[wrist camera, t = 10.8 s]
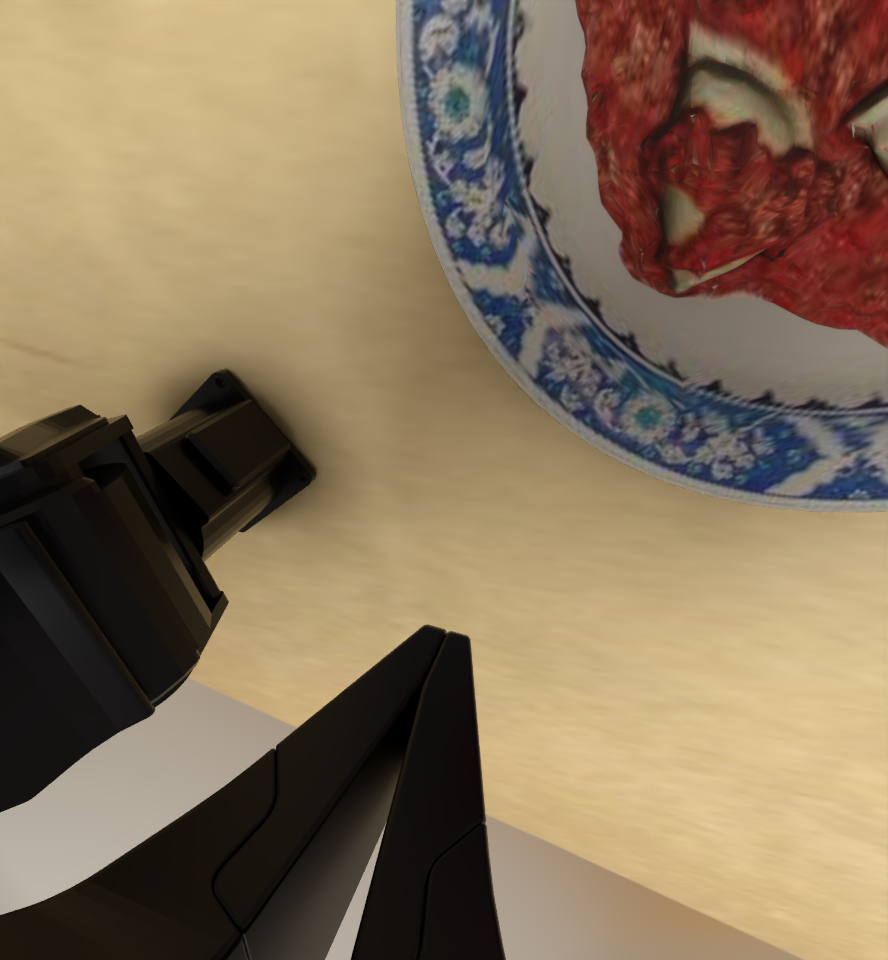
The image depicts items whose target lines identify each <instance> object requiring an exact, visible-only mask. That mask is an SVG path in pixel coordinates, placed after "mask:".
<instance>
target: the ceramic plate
mask: <svg viewBox="0 0 888 960" xmlns="http://www.w3.org/2000/svg"><path fill="white" fill-rule="evenodd" d="M396 26H397V69H398V80H399V92H400V103H401V114H402V122H403V128H404V134H405V140H406V146H407V152H408V157H409V163H410V169H411V173H412V177H413V181H414V184H415V188H416V192H417V196H418V200H419V204H420V208H421V212H422V215H423V218H424V221H425V224H426V227H427V230H428V232H429V235H430V238H431V241H432V244H433V247H434V250H435V253H436V255H437V257H438V260H439V262H440V264H441V266H442V269H443V271H444V273H445V275H446V277H447V280H448V282H449V284H450V286H451V289H452V291H453V293H454V294H455V296H456V298H457V300H458V301H459V303H460V305H461V307H462V309H463V310H464V312H465V314H466V316H467V318H468V319H469V321H470V323H471V325H472V326H473V328H474V329H475V330H476V332H477V333H478V335H479V336H480V338H481V339H482V341H483V342H484V344H485V345H486V346H487V348H488V349H489V351H490V352H491V354H492V355H493V356H494V357H495V359H496V360H497V361H498V362H499V363H500V365H501V366H502V367H503V368H504V369H505V371H506V372H507V373H508V374H509V375H510V377H511V378H512V379H513V380H514V381H515V383H516V384H517V385H518V386H519V387H521V388H522V389H523V390H524V391H525V392H526V393H527V394H528V395H529V396H530V397H531V398H532V399H533V400H534V401H535V402H536V403H537V404H538V405H539V406H540V407H541V408H542V409H543V410H544V411H546V412H547V413H548V414H549V415H551V416H552V417H553V418H554V419H556V420H557V421H558V422H559V423H560V424H562V425H563V426H564V427H565V428H567V429H568V430H569V431H571V432H572V433H574V434H575V435H577V436H578V437H580V438H581V439H583V440H584V441H586V442H587V443H589V444H590V445H592V446H593V447H595V448H596V449H598V450H599V451H601V452H603V453H605V454H607V455H609V456H611V457H612V458H614V459H616V460H618V461H620V462H622V463H623V464H625V465H627V466H629V467H631V468H634V469H636V470H638V471H641V472H643V473H645V474H648V475H650V476H652V477H655V478H657V479H659V480H662V481H664V482H667V483H670V484H673V485H676V486H679V487H682V488H685V489H688V490H691V491H694V492H697V493H701V494H705V495H709V496H713V497H718V498H722V499H726V500H730V501H734V502H739V503H746V504H752V505H758V506H765V507H771V508H778V509H790V510H802V511H815V512H880V511H888V0H397V1H396Z"/></svg>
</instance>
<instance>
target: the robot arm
mask: <svg viewBox="0 0 888 960" xmlns="http://www.w3.org/2000/svg"><path fill="white" fill-rule="evenodd" d="M221 378H222V379H223V380H224V382H225V384H223V382H222V381H221ZM131 429H133V426H132V424H131V423H130V421H129V419H128V417H127V415H122V416H118V417H113V418H109V419H106V417H100V415H96V414H94V413H92V412H91V411H89V410H88V409H86V408H85V407H83V406H81V405H78V406H74V407H70V408H67V409H65V410H62V411H59V412H57V413H54V414H52V415H49V416H47V417H44V418H42V419H39V420H37V421H34V422H32V423H29V424H27V425H25V426H23V427H20V428H18V429H16V430H14V431H12V432H10V433H8V434H7V435H5V436H3V437H1V438H0V812H2V811H5V810H7V809H10V808H12V807H15V806H17V805H20V804H22V803H25V802H27V801H29V800H30V799H32V798H33V797H34V796H36V795H37V794H38V793H40V791H42V790H43V789H44V788H46V787H47V786H48V785H49V784H50V783H52V782H53V781H54V780H55V779H56V778H57V777H59V776H60V775H61V774H62V773H64V772H65V771H66V770H67V769H68V768H70V767H71V766H72V765H73V764H74V763H75V762H77V761H78V760H80V758H82V757H83V756H85V755H86V754H87V753H89V752H90V751H91V750H92V749H94V748H96V747H97V746H99V745H100V744H101V743H103V742H105V741H106V740H108V739H109V738H111V737H112V736H114V735H115V734H117V733H119V732H120V731H122V730H124V729H126V728H128V727H130V726H132V725H134V724H136V723H138V722H140V721H142V720H144V719H146V718H148V717H150V716H151V715H152V714H153V713H154V711H155V707H156V706H158V705H159V704H160V703H162V702H163V701H165V700H166V699H167V698H168V697H169V696H171V695H172V694H173V693H174V692H175V691H176V690H177V689H178V688H179V687H180V686H181V685H182V684H183V683H184V681H185V680H186V679H187V678H188V676H189V675H190V673H191V672H192V670H193V668H194V667H195V666H196V665H197V663H198V661H199V659H200V655H201V653H202V651H203V650H204V648H205V646H206V644H207V642H208V640H209V638H210V637H211V635H212V633H213V631H214V629H215V627H216V625H217V624H218V622H219V620H220V618H221V616H222V614H223V612H224V610H225V609H226V607H227V605H228V603H229V601H228V600H227V598H226V596H225V594H224V592H223V591H220V590H219V588H218V586H217V585H216V583H215V581H214V579H213V577H212V575H211V574H210V572H209V570H208V568H207V566H206V565H205V563H204V561H205V560H207V559H208V558H209V557H210V556H211V555H212V554H213V553H215V552H216V551H217V550H218V549H219V548H220V547H221V546H222V545H224V544H225V543H226V542H227V541H228V540H229V539H230V538H231V537H233V536H234V535H235V534H236V533H237V532H238V531H239V532H245V531H247V530H248V529H249V528H251V527H252V526H253V525H255V524H256V523H258V522H259V521H260V520H262V519H263V518H264V517H266V516H267V515H268V514H270V513H271V512H272V511H274V510H275V509H277V508H278V507H279V506H281V505H282V504H283V503H285V502H286V501H287V500H289V499H290V498H292V497H293V496H294V495H296V494H297V493H298V492H300V491H301V490H302V489H304V488H305V487H307V486H308V485H309V484H310V483H311V482H312V481H313V480H314V479H315V477H316V473H315V470H314V469H313V467H312V466H311V465H310V464H309V463H308V462H307V460H306V459H305V458H304V457H303V456H302V455H301V454H300V452H299V451H298V450H297V449H296V448H295V447H294V445H293V444H292V443H291V442H290V441H289V440H288V438H287V437H286V436H285V435H284V434H283V433H282V432H281V430H280V429H279V428H278V427H277V426H276V425H275V423H274V422H273V421H272V420H271V419H270V418H269V416H268V415H267V414H266V413H265V412H264V411H263V410H262V408H261V407H260V406H259V405H258V404H257V403H256V401H255V400H254V399H253V398H252V397H251V396H250V395H249V393H248V392H247V391H246V390H245V389H244V388H243V386H242V385H241V384H240V383H239V382H238V381H237V379H236V378H235V377H234V376H233V375H232V374H231V373H230V372H229V371H227V370H219V371H217V372H215V373H213V374H212V375H211V376H210V377H209V378H208V379H207V380H206V381H205V383H204V384H203V385H202V386H201V387H200V388H199V389H198V390H197V391H196V392H195V393H194V394H193V395H192V396H191V398H190V399H189V400H188V401H187V402H186V403H185V404H184V405H183V406H182V407H181V408H180V409H179V410H178V411H177V412H176V414H175V415H174V416H173V417H172V418H171V419H170V420H169V421H168V422H166V423H164V424H162V425H160V426H158V427H156V428H154V429H152V430H150V431H148V432H146V433H144V434H142V435H140V436H138V437H135V436H134V434H133V432H132V430H131ZM302 472H304V473H305V474H306V476H307V477H305V476H304V475H303V474H302ZM386 821H387V823H386ZM485 822H486V815H485V804H484V792H483V781H482V769H481V758H480V746H479V735H478V723H477V711H476V700H475V688H474V677H473V665H472V654H471V642H470V638H469V637H468V636H467V635H463V634H460V633H456V632H453V631H449V632H448V633H447V631H446V630H445V629H442V628H439V627H435V626H431V625H424V626H423V627H421V628H420V629H419V630H418V631H416V632H415V633H414V634H413V635H411V636H410V637H409V638H408V639H407V640H405V641H404V642H403V643H402V644H400V645H399V646H398V647H397V648H395V649H394V650H393V651H392V652H391V653H389V654H388V655H387V656H386V657H384V658H383V659H382V660H381V661H379V662H378V663H377V664H376V665H375V666H373V667H372V668H371V669H370V670H368V671H367V672H366V673H365V674H364V675H362V676H361V677H360V678H359V679H357V680H356V681H355V682H354V683H352V684H351V685H350V686H349V687H348V688H346V689H345V690H344V691H343V692H341V693H340V694H339V695H338V696H336V697H335V698H334V699H333V700H332V701H330V702H329V703H328V704H327V705H325V706H324V707H323V708H322V709H321V710H319V711H318V712H317V713H316V714H314V715H313V716H312V717H311V718H309V719H308V720H307V721H306V722H305V723H303V724H302V725H301V726H300V727H298V728H297V729H296V730H295V731H293V732H292V733H291V734H290V735H289V736H287V737H286V738H285V739H284V740H282V741H281V742H280V743H279V744H278V745H277V746H276V750H275V749H271V750H270V751H269V752H267V753H266V754H265V755H264V756H263V757H261V758H260V759H259V760H258V761H256V762H255V763H254V764H253V765H251V766H250V767H249V768H248V769H246V770H245V771H244V772H242V773H241V774H240V775H239V776H237V777H236V778H235V779H233V780H232V781H231V782H229V783H228V784H227V785H226V786H224V787H223V788H221V789H220V790H219V791H217V792H216V793H214V794H213V795H212V796H210V797H209V798H207V799H206V800H204V801H203V802H201V803H200V804H199V805H197V806H196V807H194V808H193V809H191V810H190V811H188V812H187V813H185V814H184V815H182V816H181V817H179V818H178V819H176V820H175V821H173V822H172V823H170V824H169V825H168V826H166V827H165V828H163V829H162V830H160V831H159V832H157V833H156V834H154V835H152V836H151V837H149V838H148V839H146V840H145V841H144V842H142V843H141V844H139V845H137V846H136V847H135V848H133V849H132V850H130V851H128V852H127V853H125V854H124V855H123V856H121V857H120V858H118V859H116V860H115V861H114V862H112V863H110V864H109V865H108V866H106V867H104V868H103V869H102V870H100V871H98V872H97V873H95V874H94V875H92V876H91V877H89V878H88V879H86V880H84V881H82V882H80V883H79V884H77V885H75V886H73V887H71V888H69V889H68V890H65V891H63V892H61V893H59V894H57V895H55V896H53V897H51V898H48V899H46V900H44V901H41V902H39V903H36V904H34V905H31V906H28V907H25V908H22V909H19V910H15V911H12V912H9V913H6V914H3V915H0V960H325V958H326V956H327V954H328V951H329V949H330V947H331V945H332V943H333V940H334V938H335V936H336V934H337V931H338V929H339V927H340V924H341V922H342V920H343V918H344V916H345V913H346V911H347V909H348V907H349V904H350V902H351V900H352V898H353V895H354V893H355V891H356V889H357V886H358V884H359V882H360V880H361V878H362V875H363V873H364V871H365V869H366V866H367V864H368V862H369V859H370V857H371V855H372V853H373V851H374V848H375V846H376V844H377V842H378V839H379V837H380V835H381V832H382V830H383V828H384V826H385V824H386V826H385V830H384V834H383V838H382V842H381V846H380V850H379V853H378V857H377V861H376V865H375V869H374V873H373V876H372V880H371V884H370V888H369V892H368V895H367V899H366V903H365V907H364V911H363V915H362V919H361V922H360V926H359V930H358V934H357V938H356V941H355V945H354V949H353V953H352V957H351V960H506V958H505V953H504V949H503V943H502V938H501V932H500V927H499V921H498V916H497V909H496V904H495V898H494V892H493V883H492V875H491V867H490V858H489V848H488V836H487V826H486V825H485Z"/></svg>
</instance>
